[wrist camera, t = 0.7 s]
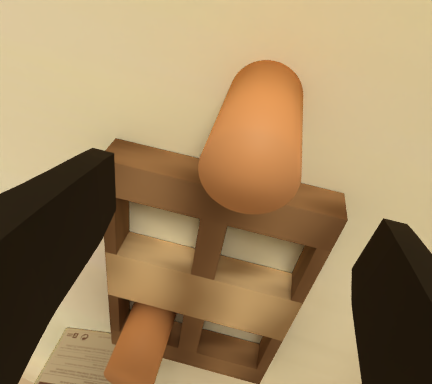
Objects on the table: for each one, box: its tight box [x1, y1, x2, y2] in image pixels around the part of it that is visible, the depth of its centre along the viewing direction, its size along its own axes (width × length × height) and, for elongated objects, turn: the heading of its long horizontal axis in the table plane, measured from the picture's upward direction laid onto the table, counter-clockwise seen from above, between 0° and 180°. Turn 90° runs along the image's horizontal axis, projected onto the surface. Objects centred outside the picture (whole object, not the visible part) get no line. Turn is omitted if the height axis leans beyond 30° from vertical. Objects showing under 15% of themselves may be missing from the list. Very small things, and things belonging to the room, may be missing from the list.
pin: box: [104, 302, 177, 384], centre depth 25 cm, size 3×3×6 cm
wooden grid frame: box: [104, 139, 348, 384], centre depth 23 cm, size 12×18×2 cm, turn 171°
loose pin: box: [198, 60, 303, 214], centre depth 13 cm, size 3×3×6 cm
